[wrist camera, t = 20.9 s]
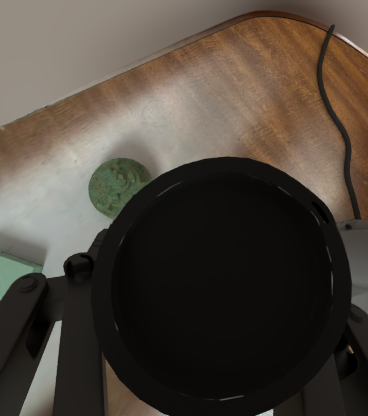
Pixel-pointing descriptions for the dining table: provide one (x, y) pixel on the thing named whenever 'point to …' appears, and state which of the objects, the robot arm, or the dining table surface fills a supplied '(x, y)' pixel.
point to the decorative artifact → (116, 184)
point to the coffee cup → (220, 289)
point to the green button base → (14, 270)
